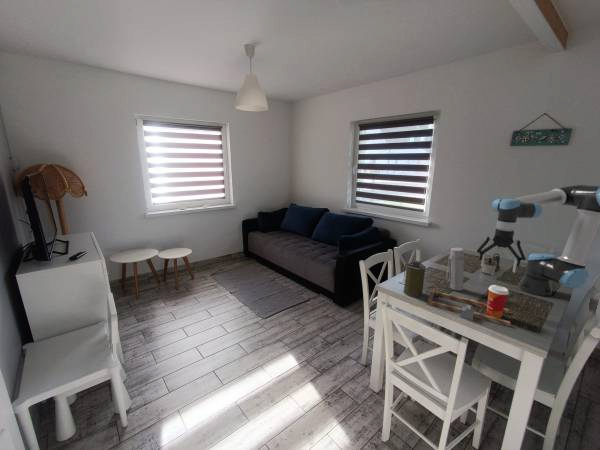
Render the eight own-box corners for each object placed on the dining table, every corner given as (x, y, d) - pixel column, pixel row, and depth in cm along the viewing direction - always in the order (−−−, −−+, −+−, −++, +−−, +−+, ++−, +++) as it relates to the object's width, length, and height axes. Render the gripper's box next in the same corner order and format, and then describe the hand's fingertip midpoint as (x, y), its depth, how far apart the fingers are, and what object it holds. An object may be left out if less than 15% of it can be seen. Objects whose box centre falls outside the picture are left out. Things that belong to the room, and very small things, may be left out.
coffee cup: (484, 309, 139) (489, 282, 136) (504, 314, 134) (509, 287, 131) (482, 316, 133) (487, 288, 129) (503, 322, 128) (509, 293, 124)
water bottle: (461, 286, 164) (462, 247, 160) (465, 291, 157) (466, 251, 152) (444, 285, 167) (445, 247, 162) (448, 291, 159) (448, 251, 155)
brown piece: (507, 312, 136) (508, 308, 136) (509, 327, 124) (510, 322, 124) (432, 293, 156) (432, 289, 155) (427, 304, 144) (427, 299, 143)
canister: (423, 291, 158) (427, 260, 153) (421, 299, 149) (425, 266, 144) (404, 287, 163) (407, 256, 158) (401, 294, 154) (404, 262, 150)
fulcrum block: (473, 316, 132) (474, 306, 131) (472, 320, 129) (474, 310, 128) (461, 313, 135) (463, 303, 134) (460, 317, 132) (462, 307, 131)
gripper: (536, 231, 130) (527, 272, 135) (476, 224, 144) (469, 261, 149) (538, 234, 124) (529, 276, 129) (475, 227, 138) (469, 265, 143)
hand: (497, 268), depth 139 cm, fingers open, 13 cm apart
